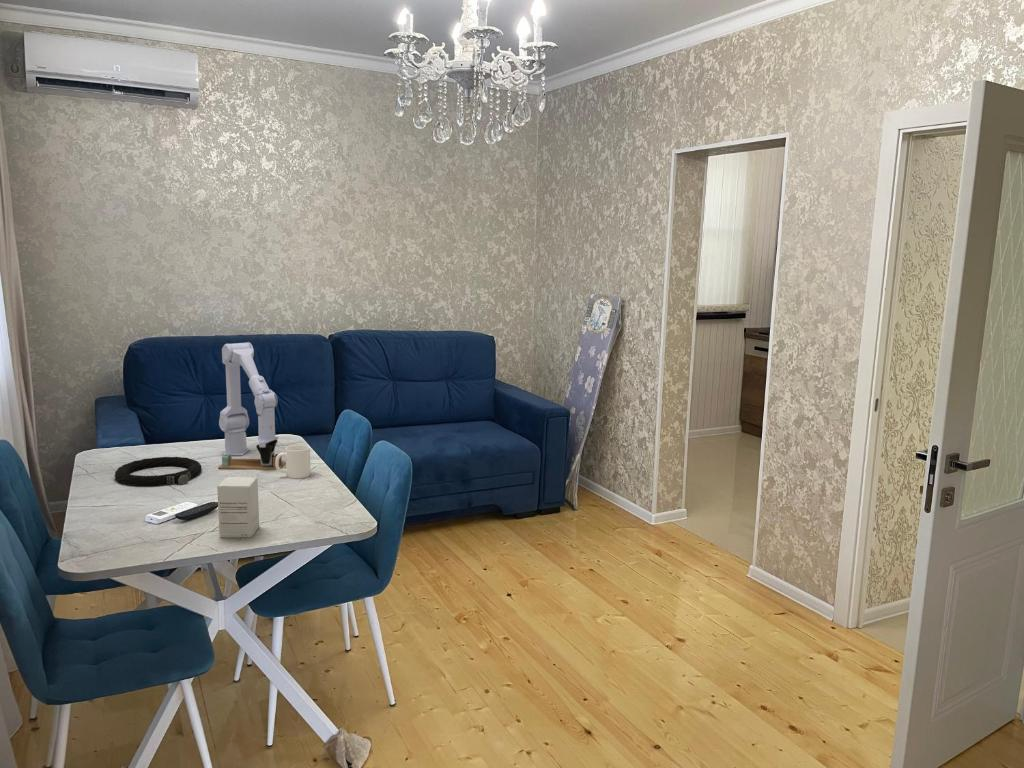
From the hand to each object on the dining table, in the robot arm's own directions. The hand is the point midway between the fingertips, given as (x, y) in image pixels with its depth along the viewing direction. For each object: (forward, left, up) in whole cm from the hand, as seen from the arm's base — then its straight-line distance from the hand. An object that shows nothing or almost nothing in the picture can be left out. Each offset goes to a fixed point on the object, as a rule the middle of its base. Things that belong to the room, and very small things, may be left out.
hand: (267, 461), depth 275 cm
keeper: (0, 0, -2) cm, 2 cm away
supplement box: (+66, +8, -2) cm, 66 cm away
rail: (0, -6, -2) cm, 6 cm away
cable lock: (+12, -34, -2) cm, 36 cm away
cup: (+12, +12, -2) cm, 17 cm away
